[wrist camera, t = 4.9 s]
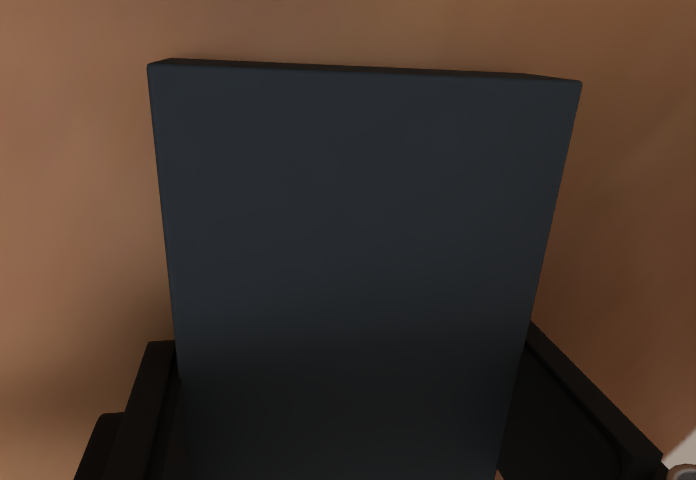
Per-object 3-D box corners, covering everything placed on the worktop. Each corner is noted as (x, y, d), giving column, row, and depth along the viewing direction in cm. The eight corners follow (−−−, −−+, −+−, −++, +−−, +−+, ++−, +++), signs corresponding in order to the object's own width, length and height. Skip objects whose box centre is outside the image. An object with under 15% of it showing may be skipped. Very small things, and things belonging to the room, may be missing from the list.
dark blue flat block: (524, 73, 9) (584, 81, 7) (440, 545, 14) (465, 612, 12) (167, 57, 8) (145, 63, 6) (212, 580, 13) (207, 660, 11)
